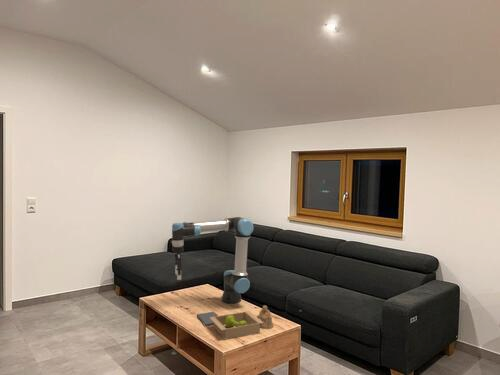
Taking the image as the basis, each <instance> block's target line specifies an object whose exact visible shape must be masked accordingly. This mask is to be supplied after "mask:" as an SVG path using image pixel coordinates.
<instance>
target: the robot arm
mask: <svg viewBox="0 0 500 375" xmlns="http://www.w3.org/2000/svg"><path fill="white" fill-rule="evenodd" d="M215 231H225V232H234V237H235V239H236V240H235V241H236V242H235V257H234V269H228V270H224V272H223V292H222V295H221V302H223V303H225V304H238V303H241V301H242V295H241V294H244V293H246V292H247V291H248V290H249V289H250V285H251V282H250V280H249V278H248V277H249V274H248V272H247V261H248V243H249V239H250V238H251V234H252V233H253V232H254V224H253V222H252V221H251V220H250V219H248V218H244V217H241V216H236V217H229V218H226V217H225V218H224V219H221V220H220V219H219V220H208V221H195V222H185V221H184V222H175V223H172V225H171V236H172V238H171V240H172V241H171V244H172V247H171V249H172V250H171V251H172V253H175V254H174V264H175V266H174V268H175V269H174V270H175V271H174V272H175V275H176V280H177V281H181V280H182V254H181V253H183V252H184V250H185V249H184V239H185V237H197V236H201V233H204V232H205V233H207V232H215Z"/></svg>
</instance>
